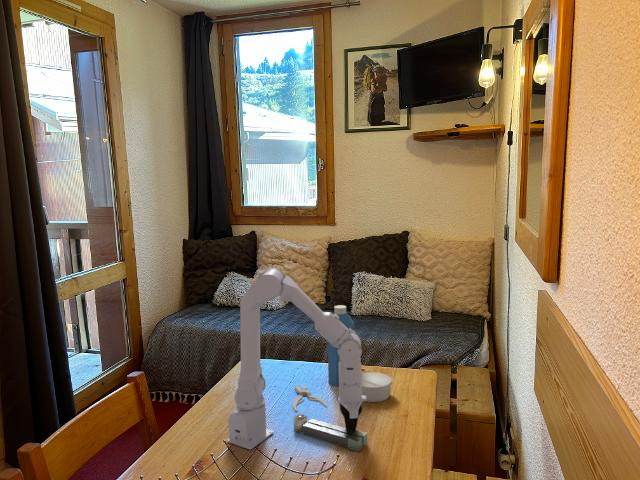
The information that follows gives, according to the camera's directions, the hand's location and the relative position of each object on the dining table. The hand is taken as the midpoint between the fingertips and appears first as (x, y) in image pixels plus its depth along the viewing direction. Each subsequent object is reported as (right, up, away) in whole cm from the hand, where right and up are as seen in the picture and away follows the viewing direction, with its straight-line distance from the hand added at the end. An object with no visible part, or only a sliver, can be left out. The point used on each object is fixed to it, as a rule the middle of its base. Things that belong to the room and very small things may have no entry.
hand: (351, 431), depth 122 cm
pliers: (-12, 0, +23) cm, 26 cm away
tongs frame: (-6, -2, 0) cm, 6 cm away
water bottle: (-1, +2, +36) cm, 36 cm away
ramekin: (+8, +1, +24) cm, 25 cm away
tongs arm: (-4, -1, 0) cm, 4 cm away
